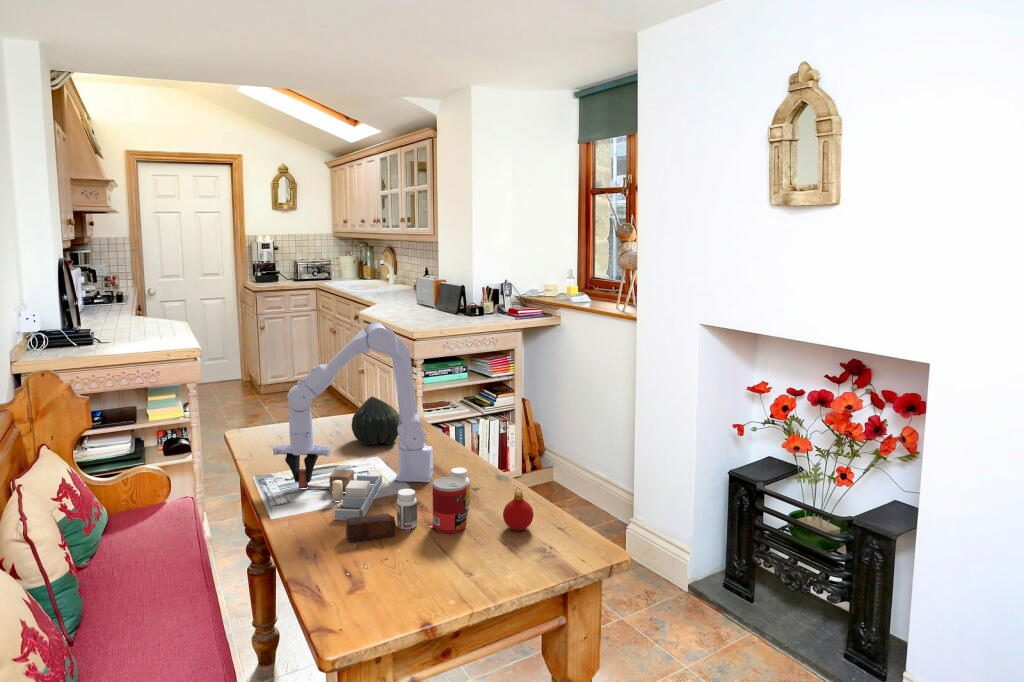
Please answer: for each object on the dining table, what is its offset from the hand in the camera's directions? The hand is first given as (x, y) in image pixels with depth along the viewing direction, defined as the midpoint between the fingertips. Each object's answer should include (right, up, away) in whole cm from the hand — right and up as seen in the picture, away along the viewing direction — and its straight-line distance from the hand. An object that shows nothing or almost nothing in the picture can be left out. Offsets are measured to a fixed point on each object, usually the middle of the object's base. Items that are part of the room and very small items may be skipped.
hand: (303, 481), depth 188 cm
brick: (+23, -8, -26) cm, 36 cm away
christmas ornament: (+56, -7, -21) cm, 60 cm away
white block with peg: (+14, -4, -7) cm, 16 cm away
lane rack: (+16, -4, -7) cm, 18 cm away
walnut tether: (+6, -2, 0) cm, 6 cm away
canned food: (+40, -7, -20) cm, 46 cm away
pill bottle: (+30, -7, -20) cm, 37 cm away
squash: (+12, +5, +37) cm, 40 cm away
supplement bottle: (+42, -5, -10) cm, 43 cm away
